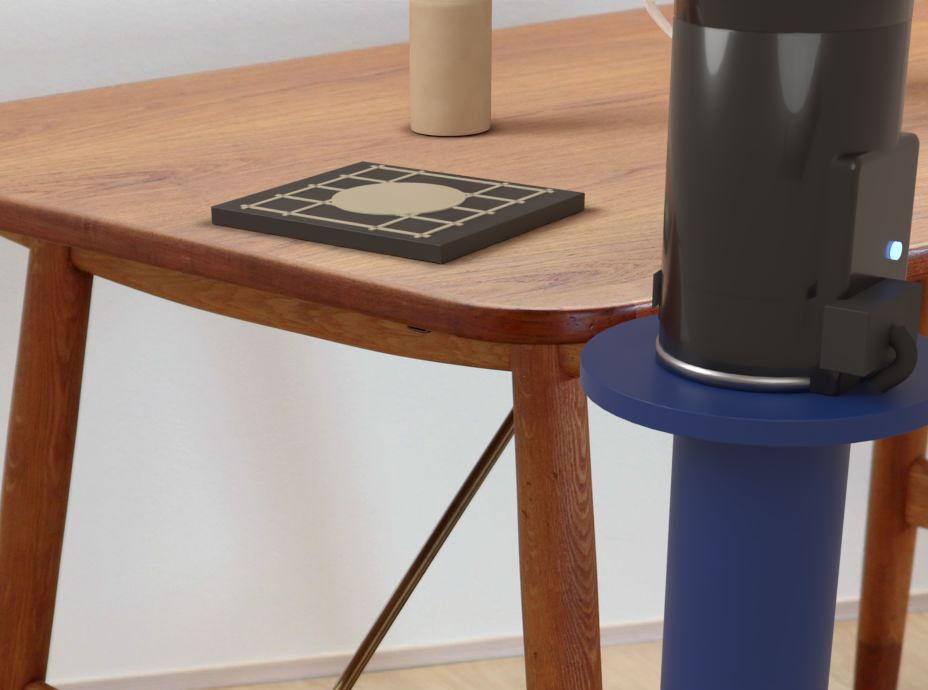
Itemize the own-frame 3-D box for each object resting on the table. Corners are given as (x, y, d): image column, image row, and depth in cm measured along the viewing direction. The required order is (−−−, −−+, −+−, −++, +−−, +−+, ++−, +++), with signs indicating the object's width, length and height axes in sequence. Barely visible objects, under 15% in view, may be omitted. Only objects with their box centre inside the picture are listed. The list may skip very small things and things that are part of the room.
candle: (415, 120, 135) (414, -29, 130) (494, 121, 134) (496, -30, 129) (404, 136, 130) (403, -19, 125) (486, 137, 129) (487, -19, 125)
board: (584, 210, 110) (585, 190, 109) (441, 264, 100) (441, 243, 99) (362, 177, 119) (362, 159, 118) (211, 223, 109) (210, 204, 108)
